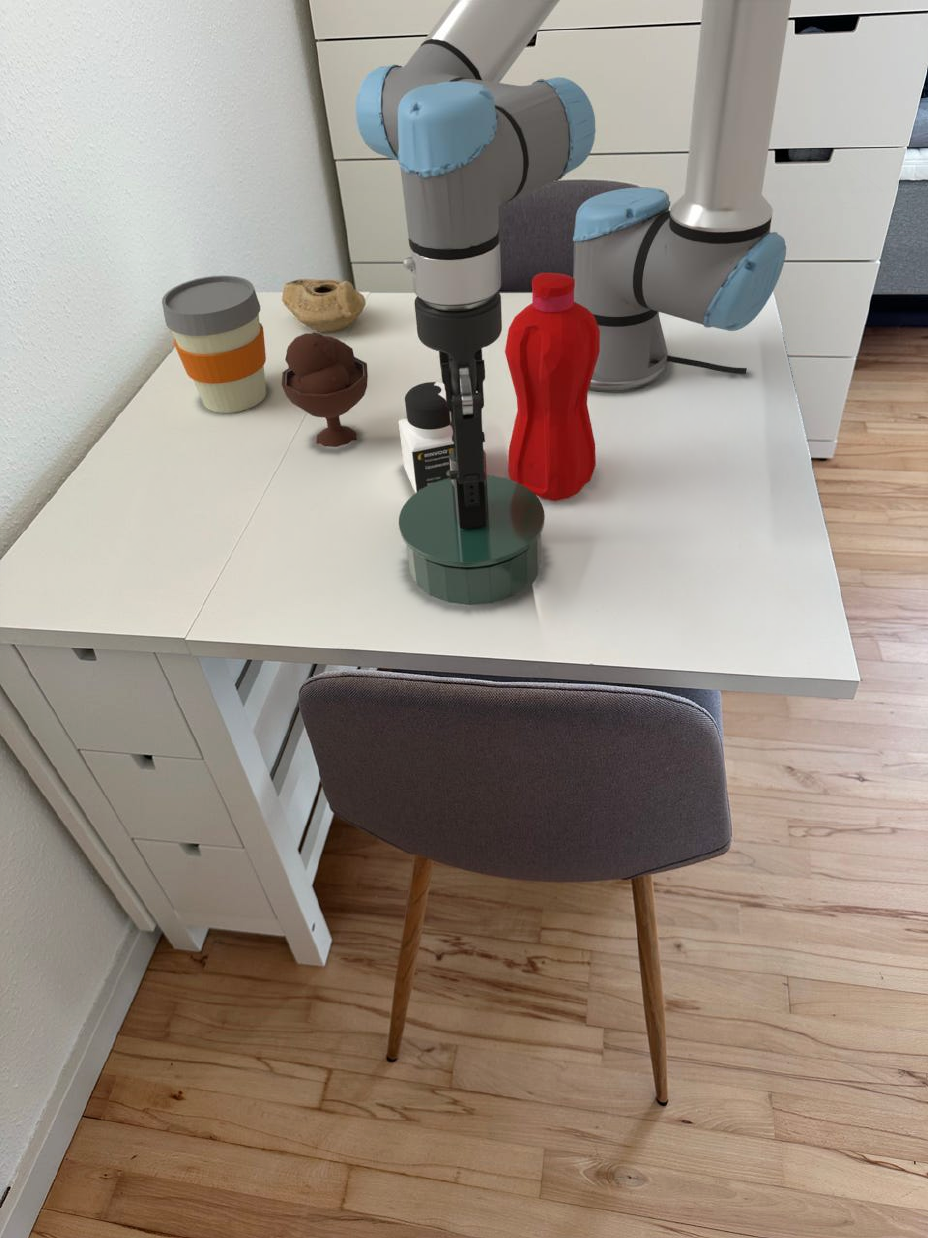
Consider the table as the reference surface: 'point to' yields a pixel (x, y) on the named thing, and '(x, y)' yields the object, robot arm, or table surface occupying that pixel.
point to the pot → (476, 577)
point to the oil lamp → (323, 303)
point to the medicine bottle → (426, 435)
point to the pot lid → (440, 539)
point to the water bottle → (552, 390)
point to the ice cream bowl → (325, 382)
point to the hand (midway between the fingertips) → (471, 512)
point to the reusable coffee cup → (219, 340)
